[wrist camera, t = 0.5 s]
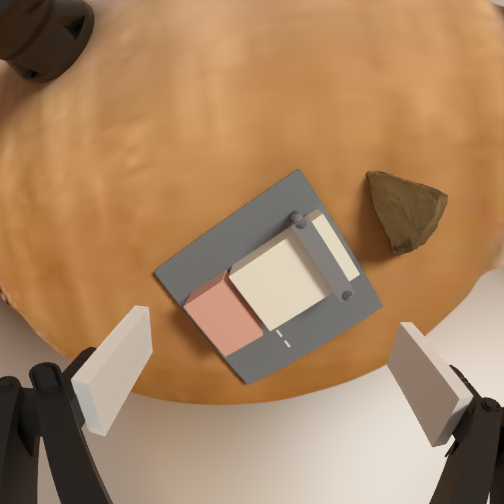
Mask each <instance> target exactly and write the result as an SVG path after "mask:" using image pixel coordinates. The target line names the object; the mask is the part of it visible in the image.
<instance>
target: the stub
mask: <svg viewBox="0 0 504 504" xmlns="http://www.w3.org/2000/svg"><path fill="white" fill-rule="evenodd" d="M183 307H184V308H185V310H186V311H187V312H188V313H189V315H190V316H191V317H192V318H193V320H194V321H195V322H196V323H197V324H198V326H199V327H200V328H201V329H202V330H203V332H204V333H205V334H206V335H207V336H208V338H209V339H210V340H211V341H212V342H213V344H214V345H215V346H216V347H217V348H218V349H219V350H220V352H221V353H222V354H223V355H224V356H225V357H226V356H228V355H229V354H231V353H233V352H235V351H237V350H238V349H240V348H242V347H244V346H245V345H247V344H249V343H251V342H253V341H254V340H256V339H258V338H259V337H261V336H263V321H262V320H261V319H260V318H259V316H258V315H257V314H256V312H255V311H254V310H253V308H252V307H251V306H250V305H249V303H248V302H247V301H246V299H245V298H244V297H243V295H242V294H241V293H240V291H239V290H238V289H237V287H236V286H235V285H234V283H233V282H232V281H231V279H230V278H229V273H228V271H227V270H224V271H223V272H221V273H220V274H218V275H217V276H216V277H214V278H213V279H211V280H210V281H208V282H207V283H205V284H204V285H202V286H201V287H199V288H198V289H196V290H195V291H193V292H192V293H191V294H190V296H189V298H188V299H187V301H186V303H185V305H184V306H183Z"/></svg>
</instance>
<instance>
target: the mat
mask: <svg viewBox="0 0 504 504" xmlns="http://www.w3.org/2000/svg"><path fill="white" fill-rule="evenodd" d="M315 209H317V210H318V211H320V212H321V213H323V215H324V216H325V218H326V219H327V221H328V222H329V224H330V226H331V227H332V229H333V230H334V232H335V234H336V235H337V237H338V238H339V240H340V242H341V243H342V245H343V247H344V248H345V250H346V252H347V253H348V255H349V257H350V258H351V260H352V262H353V263H354V265H355V267H356V268H357V270H358V272H359V273H360V275H358V276H357V277H355V278H354V279H352V280H351V281H349V282H350V284H351V285H352V287H353V289H354V290H355V292H356V293H355V294H353V295H352V298H351V299H350V300H348V301H345V300H344V301H342V302H341V303H340V301H339V300H338V298H337V296H336V295H335V293H334V292H333V293H331V294H330V295H328V296H327V297H325V298H323V299H322V300H320V301H319V302H317V303H316V304H314V305H312V306H311V307H309V308H308V309H306V310H304V311H303V312H301V313H300V314H298V315H296V316H295V317H293V318H291V319H290V320H288V321H286V322H285V323H283V324H282V325H280V326H278V327H276V328H275V329H273V330H271V331H270V330H269V329H268V328H267V327H266V325H265V324H264V323H263V336H261V337H259V338H258V339H256V340H254V341H253V342H251V343H249V344H247V345H245V346H244V347H242V348H240V349H238V350H237V351H235V352H233V353H231V354H229V355H228V356H226V357H225V356H224V355H223V354H222V353H221V352H220V350H219V349H218V348H217V347H216V346H215V345H214V344H213V342H212V341H211V340H210V339H209V338H208V336H207V335H206V334H205V333H204V332H203V330H202V329H201V328H200V327H199V326H198V324H197V323H196V322H195V321H194V320H193V318H192V317H191V316H190V315H189V313H188V312H187V311H186V310H185V308H184V307H183V306H184V305H185V303H186V301H187V299H188V298H189V296H190V294H191V293H192V292H193V291H195V290H196V289H198V288H199V287H201V286H202V285H204V284H205V283H207V282H208V281H210V280H211V279H213V278H214V277H216V276H217V275H218V274H220V273H221V272H223V271H224V270H227V271H228V273H229V274H230V271H231V268H232V265H233V264H235V263H236V262H238V261H239V260H241V259H242V258H244V257H245V256H247V255H248V254H250V253H251V252H253V251H254V250H256V249H257V248H259V247H260V246H262V245H263V244H265V243H266V242H268V241H269V240H271V239H272V238H274V237H275V236H277V235H278V234H280V233H281V232H282V231H284V230H285V229H287V228H288V227H290V224H291V223H293V222H292V220H291V218H290V214H291V212H293V211H298V212H299V213H300V214H301V215H302V216H303V215H305V214H307V215H308V214H309V213H311V212H312V211H314V210H315ZM154 273H155V274H156V275H157V277H158V278H159V279H160V281H161V282H162V283H163V285H164V286H165V287H166V289H167V290H168V291H169V292H170V294H171V295H172V296H173V297H174V299H175V300H176V301H177V303H178V304H179V305H180V306H181V308H182V309H183V310H184V311H185V313H186V314H187V315H188V316H189V317H190V319H191V320H192V321H193V322H194V324H195V325H196V326H197V327H198V328H199V330H200V331H201V332H202V333H203V334H204V336H205V337H206V338H207V339H208V340H209V341H210V343H211V344H212V345H213V346H214V347H215V348H216V350H217V351H218V352H219V353H220V354H221V355H222V356H223V358H224V359H225V360H226V361H227V362H228V363H229V364H230V366H231V367H232V368H233V369H234V370H235V371H236V372H237V373H238V374H239V376H240V377H241V378H242V379H243V380H244V381H245V382H246V383H247V384H248V385H250V384H252V383H254V382H256V381H258V380H260V379H262V378H264V377H266V376H267V375H269V374H271V373H273V372H275V371H277V370H279V369H281V368H283V367H284V366H286V365H288V364H290V363H292V362H293V361H295V360H297V359H299V358H301V357H302V356H304V355H306V354H308V353H309V352H311V351H313V350H314V349H316V348H318V347H320V346H321V345H323V344H325V343H326V342H328V341H330V340H331V339H333V338H335V337H336V336H338V335H339V334H341V333H343V332H344V331H346V330H347V329H349V328H351V327H352V326H354V325H355V324H357V323H358V322H360V321H362V320H363V319H365V318H366V317H368V316H369V315H371V314H372V313H374V312H375V311H377V310H378V309H380V308H381V307H382V306H383V305H382V303H381V302H380V300H379V298H378V296H377V294H376V292H375V291H374V289H373V287H372V285H371V283H370V282H369V280H368V278H367V276H366V275H365V273H364V271H363V269H362V268H361V266H360V264H359V263H358V261H357V259H356V257H355V256H354V254H353V252H352V251H351V249H350V247H349V246H348V244H347V242H346V241H345V239H344V237H343V236H342V234H341V232H340V231H339V229H338V228H337V226H336V224H335V223H334V221H333V220H332V218H331V216H330V215H329V213H328V212H327V210H326V209H325V207H324V205H323V204H322V202H321V201H320V199H319V198H318V196H317V195H316V193H315V192H314V190H313V189H312V187H311V186H310V184H309V183H308V181H307V180H306V178H305V177H304V175H303V174H302V172H301V171H300V169H297V170H296V171H294V172H293V173H291V174H290V175H288V176H287V177H285V178H284V179H282V180H281V181H280V182H278V183H277V184H275V185H274V186H272V187H271V188H269V189H268V190H266V191H265V192H263V193H262V194H260V195H259V196H258V197H256V198H255V199H253V200H252V201H250V202H249V203H247V204H246V205H245V206H243V207H242V208H240V209H239V210H237V211H236V212H235V213H233V214H232V215H230V216H229V217H227V218H226V219H225V220H223V221H222V222H220V223H219V224H218V225H216V226H215V227H213V228H212V229H211V230H209V231H208V232H206V233H205V234H204V235H202V236H201V237H199V238H198V239H197V240H195V241H194V242H193V243H191V244H190V245H188V246H187V247H186V248H184V249H183V250H182V251H180V252H179V253H178V254H176V255H175V256H173V257H172V258H171V259H169V260H168V261H167V262H165V263H164V264H163V265H161V266H160V267H159V268H157V269H156V270H155V271H154Z"/></svg>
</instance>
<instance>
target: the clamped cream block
mask: <svg viewBox="0 0 504 504" xmlns="http://www.w3.org/2000/svg"><path fill="white" fill-rule="evenodd" d="M290 218H291V220H292V222H293V223H291V224H290V227H288V228H287V229H285V230H284V231H282V232H281V233H280V234H278V235H277V236H275V237H274V238H272V239H271V240H269V241H268V242H266V243H265V244H263V245H262V246H260V247H259V248H257V249H256V250H254V251H253V252H251V253H250V254H248V255H247V256H245V257H244V258H242V259H241V260H239V261H238V262H236V263H235V264H233V265H232V268H231V271H230V274H229V278H230V279H231V281H232V282H233V283H234V285H235V286H236V287H237V289H238V290H239V291H240V293H241V294H242V295H243V297H244V298H245V299H246V301H247V302H248V303H249V305H250V306H251V307H252V308H253V310H254V311H255V312H256V314H257V315H258V316H259V318H260V319H261V320H262V321H263V323H264V324H265V325H266V327H267V328H268V329H269V330H270V331H271V330H273V329H275V328H276V327H278V326H280V325H282V324H283V323H285V322H286V321H288V320H290V319H291V318H293V317H295V316H296V315H298V314H300V313H301V312H303V311H304V310H306V309H308V308H309V307H311V306H312V305H314V304H316V303H317V302H319V301H320V300H322V299H323V298H325V297H327V296H328V295H330V294H331V293H333V292H334V293H335V295H336V296H337V298H338V300H339V301H340V303H341V302H342V301H344V300H345V301H348V300H350V299H351V298H352V295H353V294H355V293H356V292H355V290H354V289H353V287H352V285H351V284H350V282H349V281H351V280H352V279H354V278H355V277H357V276H358V275H360V273H359V272H358V270H357V268H356V267H355V265H354V263H353V262H352V260H351V258H350V257H349V255H348V253H347V252H346V250H345V248H344V247H343V245H342V243H341V242H340V240H339V238H338V237H337V235H336V234H335V232H334V230H333V229H332V227H331V226H330V224H329V222H328V221H327V219H326V218H325V216H324V215H323V213H321V212H320V211H318V210H317V209H315V210H314V211H312V212H311V213H309V214H308V215H307V214H305V215H303V216H302V215H301V214H300V213H299V212H298V211H293V212H291V214H290Z"/></svg>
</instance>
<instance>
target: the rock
mask: <svg viewBox="0 0 504 504" xmlns="http://www.w3.org/2000/svg"><path fill="white" fill-rule="evenodd" d="M367 177H368V178H369V182H370V189H371V198H372V200H371V202H372V204H373V206H374V208H375V211H376V214H377V216H378V218H379V220H380V222H382V224H383V226H384V230H385V232H386V233H387V235H388V236H389V238H390V244H391V250H392V252H393V254H398V255H401V254H404V253H409V252H412V251H413V250H414V249H417V248H418V247H419V246H421V245H423V244H425V243H426V241H427V240H428V238H429V237H430V236H431V235H432V233H433V232H434V231H435V229H436V228H437V226H438V221H439V220H440V218H441V216H442V214H443V212H444V209H445V207H446V205H447V200H448V195H447V194H445V193H443V192H441V191H439V190H437V189H435V188H432V187H430V186H426V185H423V184H420V183H414V182H412V181H409V180H404V179H402V178H399V177H395V176H393V175H391V174H387V173H384V172H371V171H368V172H367Z"/></svg>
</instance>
